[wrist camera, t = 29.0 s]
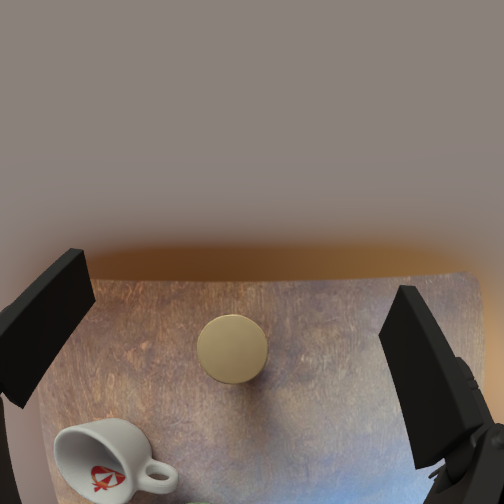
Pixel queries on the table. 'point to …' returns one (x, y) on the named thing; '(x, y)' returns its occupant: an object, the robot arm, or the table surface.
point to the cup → (110, 462)
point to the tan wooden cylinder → (232, 349)
